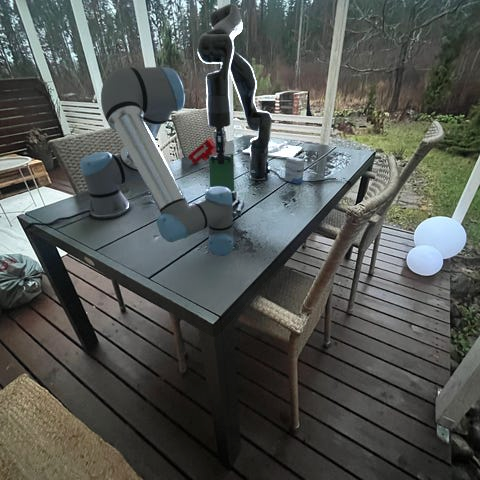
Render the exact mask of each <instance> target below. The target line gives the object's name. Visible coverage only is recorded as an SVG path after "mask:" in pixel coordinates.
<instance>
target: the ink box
mask: <svg viewBox="0 0 480 480" xmlns="http://www.w3.org/2000/svg"><path fill="white" fill-rule="evenodd" d="M305 162H306V159H304V158H299V157H296V156H294V157H289V158H287V159H286V158H285V169H284V178H285V180H284V181H285V182H289V183H293V184H295V185H298V184H300V183H303V182H302V180H304V173H305V171H304V170H305Z"/></svg>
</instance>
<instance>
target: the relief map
mask: <svg viewBox="0 0 480 480" xmlns="http://www.w3.org/2000/svg"><path fill="white" fill-rule="evenodd" d="M302 147H303V146H294V145H292V144H290V143H289V142H288V141H284V142H282V143H280V144H279V143H278V142H276V141H273V140H272V139H271V138H270V140H269V145H268V157H271V158H277V159H285V160H286V159H287V158H289V157H296V156H297V155H298V154H299V153H300V152H302V151H303V150H304V148H303V149H302ZM250 148H251V145H250V146H249V147H248V148H247V149H245V150H242V153H243V154H247V155H248V154H249V155H250ZM296 153H297V154H296Z"/></svg>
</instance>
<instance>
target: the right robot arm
mask: <svg viewBox="0 0 480 480" xmlns="http://www.w3.org/2000/svg"><path fill="white" fill-rule="evenodd" d="M209 22H210V27H211V30H207V31H206V32H204V33H202V34H201V35H200V37H199V39H198V41H197V45H196V47H197V49H196V51H197V55H198V57H199V59H200V60H201V61H202V62H203V63H205V64H221V66H220V68H219V69H218V70H216V71H213V72H210V73H208V74H207V75H206V77H205V84H206V86H205V87H206V113H207V125H208V126H209V127H211V128H215V130H213V138H214V143H215V146H216V147H215V149H216V151H215V153H216V154H217V156H218V164H224V154H225V147H226V130H225V129H224V128H227V127H229V126H231V100H230V85H229V84H230V83H229V82H230V81H229V79H230V76H231V79H232V81H233V84H234V87H235V90H236V92H237V95H238V98H239V101H240V103H241V106H242V109H243V113H244V117H245V121H246V124H247V126H248V128H249V129H250V130H251V131H253V132H257V137H254V138H251V139H250V146H251V148H250V154H249V157H250V158H249V160H250V161H249V165H250V166H249V167H250V168H249V178H250V180H253V181H256V182H257V181H265V180H268V179H269V174H270V173H271V172H272V173H273V174H275V175H276V176H277V177H278V179H279V180H284V181H285V177H281V176H280V175H279V174H278V172H277V171H274V170H273V169H271V166H269V156H268V145H269V140H270V139H271V134H272V133H271V132H272V124H273V122H272V121H273V120H272V115H271V113H270V112H268V111H263V110H259V109H258V108H257V107H256V103H255V95H256V90H257V80H256V77H255V74H254V70H253V67H252V66H251V64H250V63H249V62H248V61H247V60H246V59H245V58H243V57H242V56H241V55H240V54H239V53H238V52H236V51H235V46H234V39H235V37H236V36H237V35H239V34H240V33H241V32H242V30H243V19H242V15H241V12H240V9H239V8H238V6H237V4H235V3H228V4H226V5H224V6H221V7H219V8H217V9H215V10H213V11H212V12H210V14H209ZM336 178H337V177H328V178H323V179H324V180H323V179H316V180H317V181H316V180H304V179H303V180H302V182H301V183H319V182H326V181H329V180H333V181H334V180H335V181H336V180H337V179H336ZM342 178H343V179H346V178H344V177H342ZM346 182H347V183H349V184H351V181H350V180H349V181H346Z"/></svg>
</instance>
